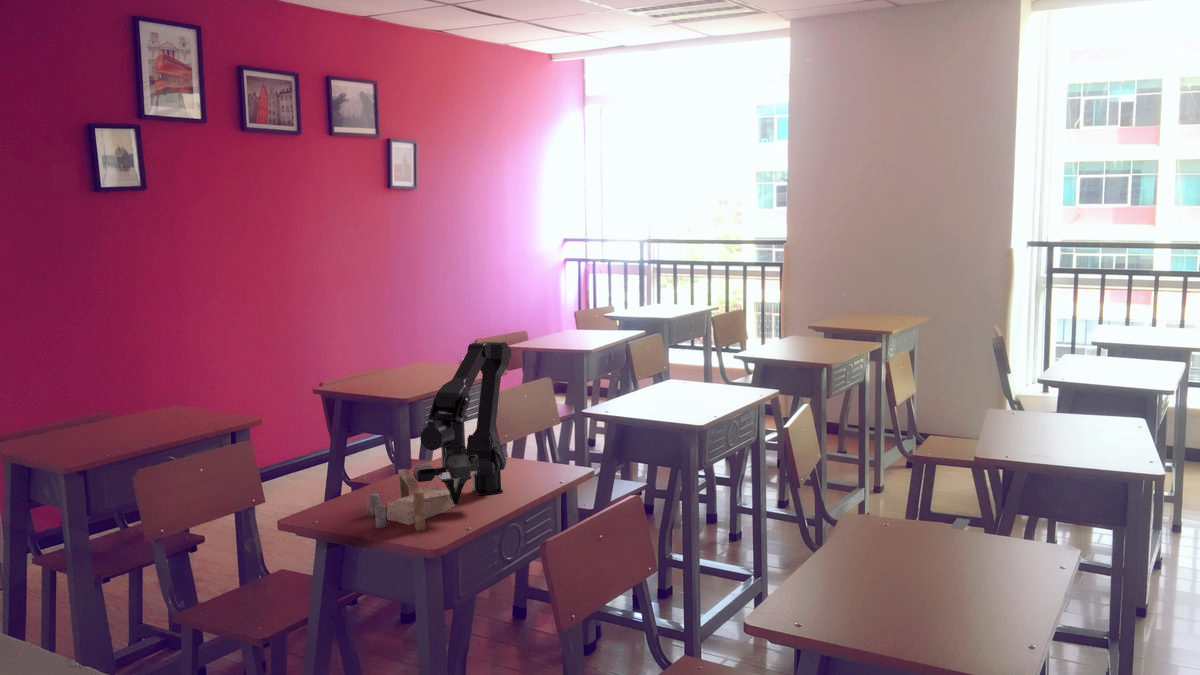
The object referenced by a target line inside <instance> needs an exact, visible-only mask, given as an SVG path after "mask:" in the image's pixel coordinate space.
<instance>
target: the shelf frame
mask: <svg viewBox="0 0 1200 675" xmlns="http://www.w3.org/2000/svg"><path fill="white" fill-rule="evenodd" d="M397 470H398V472H397V473H398V488H399V490H398V491H399V499H400V498H403V497H407V496H410V492H411V493H412V495H414V516H415V523H414V529H415V531H416V532H420V530H421V531H425V530H426V519H425V510H424V492H423V491H422V490H423V489H422V488H421V486H420V485H419V484H418V482H417V480H416V479H415V478H414V476H412V474H411V473H410V472H409V470H408V469H407V468H401V469H397ZM368 499H369V500H368V504H369V516H370V515H371V516H370V517H373V516H375V517H374V518H375V528H376V529H378V528H382V529H386V528H387V527H386V526H387V506H386V504H381V502H380V501H381V500H380V494H379V493H376V492H375V493H370V494H369V495H368ZM385 527H386V528H385Z"/></svg>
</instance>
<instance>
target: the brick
mask: <svg viewBox="0 0 1200 675" xmlns="http://www.w3.org/2000/svg"><path fill="white" fill-rule="evenodd" d="M422 491H423V492H424V510H425V520H426V519H428V518H431V517H433V516H436V515H439V514H441V513H443V512H446V511H449V510H451V509H452V508H454V507H456V505H454V504H453V501H452V499H451V496H450V494H449V491H448V489H447V487H437V486H435V487H434V486H431V487H427V488H424V489H422ZM387 519H388V521H390V520H391V522H395V521H397V522H396V523H400V524H403V523H404V525H413V524H415V516H414V495H413V494H409V496H407V497H403V498H400V497H399V498H398V499H396V500H393V501H391V502H388V503H387V506H386V520H387Z"/></svg>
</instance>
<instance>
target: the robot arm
mask: <svg viewBox="0 0 1200 675" xmlns="http://www.w3.org/2000/svg"><path fill="white" fill-rule="evenodd" d="M511 356H512V349H511V347H510V346H508V343H507V342H505V341H483V342H471V343H470V344H468V347H467V352H466V353H465V356H464V357H463V359H462V361H461V362H460V365H459V366H458V368H457V370H456V371H455V373H454V376H453V377H452V379H451V380H449V381H447V382H445V383H444V384H443V385H441V387H440V388H439V390H438V391H437V392H436V394H435V396H434V399H433V401H432V405H431V409H430V411H429V415H428V421H427V426H426V427H424V428H423V429H422V430H421V433H420V436H419V438H420V442H421V445H422V446H423V447H424V448H425V449H426V450H428V451H436V450H439V449H440V450H441V466H438V467H433V466H432V465H431V464H430V463H429V464H422V465H421V464H420V465H415V467H414V468H413V478H414V480H415V481H416V482H417V483H422V482H423V483H425V482H432V481H433V479H435V477H436V476H437V479H439V481H440V482H441V483H444V485H445V488H447V489H448V491H449V494H450V496H451V499H452V501H453V504H454V505H455V506H457V505H459V501H460V498H461V495H462V492H463V488H464V486H465V484H466V483H467V481H470V480H472V490H473V491H474V492H475V493H476V494H477V495H478V496H484V495H485V496H486V495H493V494H500V493H501V492H502V493H504V489H502V477H501V471H504V470H505V469H506V466H507V465H506V464H507V457H506V456H505V455H504V453H503V452H502V450H501V441H500V439H499V437H498V435H497V432H496V426H497V417H498V416H497V414H498V409H499V408H498V406H499V400H500V399H499V398H500V388H501V380H502V379H501V378H502V376H503V374H504V373H505V372H506V371H507V369H508V368H509V364H510V359H511ZM480 371H481V375H482V376H481V381H480V382H481V383H480V395H479V401H478V402H479V403H478V410H477V411H478V412H477V421H476V428H475V431H473V433H472V434H468V437H467V441H466V437H465V436H466V433H465V432H466V431H465V430H466V429H465V421H466V420H468V419H469V418H468V415H467V414H466V412H467V410H468V409H469V408H468V407H469V406H470V402H471V395H470V390H471V388H472V386H473V384H474V382H475V381H476V379H477V377H478V375H479V373H480ZM466 442H467V445H466ZM472 472H474V473H473V474H472Z"/></svg>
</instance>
